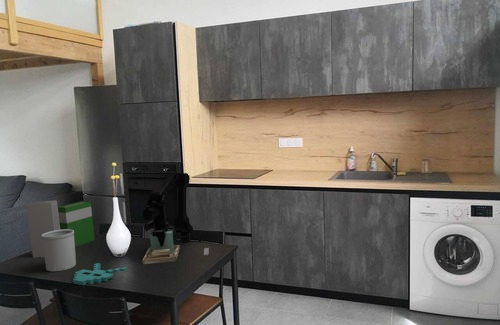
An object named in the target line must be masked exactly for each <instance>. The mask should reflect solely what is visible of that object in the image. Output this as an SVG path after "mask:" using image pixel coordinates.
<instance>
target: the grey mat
mask: <svg viewBox="0 0 500 325" xmlns="http://www.w3.org/2000/svg"><path fill="white" fill-rule="evenodd" d="M209 251H210V248H209V247H204V248H203V253H202V254H203V256H209V255H210V254H209V253H210V252H209Z"/></svg>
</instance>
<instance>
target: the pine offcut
mask: <svg viewBox="0 0 500 325" xmlns="http://www.w3.org/2000/svg"><path fill="white" fill-rule="evenodd" d="M169 253H170V249H162V250H153V252H152V256H153V255H167V254H169Z"/></svg>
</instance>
